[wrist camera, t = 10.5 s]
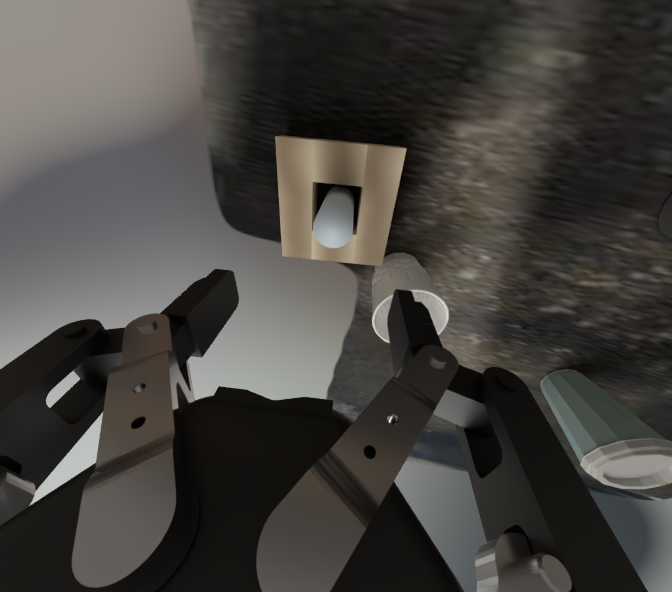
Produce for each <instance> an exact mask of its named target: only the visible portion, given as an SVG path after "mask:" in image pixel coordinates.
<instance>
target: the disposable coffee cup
mask: <svg viewBox="0 0 672 592" xmlns="http://www.w3.org/2000/svg"><path fill="white" fill-rule="evenodd" d="M540 386H541V390H542V392H543V394H544V396H545V398H546V400H547V401H548V403H549V405H550V407H551V409H552V411H553V412H554V414H555V416H556V418H557V420H558V422H559V424H560V425H561V427H562V429H563V431H564V433H565V435H566V437H567V438H568V440H569V442H570V444H571V446H572V448H573V449H574V451H575V453H576V455H577V457H578V459H579V461H580V462H581V465H580V466H582V467H583V468H584V470H585V471H586V472H587V473H588V474H590V475H591V476H593V477H594V478H596V479H598V480H599V481H600V482H601V483H603V484H605V485H609V486H613V487H617V488H622V489H648V488H653V487H658V486H663V485H666V484H669V483H672V441H669V440H665V439H664V438H663V437H661V436H660V435H659V434H657V433H656V432H655V431H654V430H652V429H651V428H650V427H649V426H647V425H646V424H645V423H644V422H642V421H641V420H640V419H638V418H637V417H636V416H635V415H633V414H632V413H631V412H630V411H628V410H627V409H626V408H625V407H623V406H622V405H621V404H620V403H618V402H617V401H616V400H614V399H613V398H612V397H611V396H609V395H608V394H607V393H606V392H604V391H603V390H602V389H601V388H599V387H598V386H597V385H595V384H594V383H593V382H592V381H590V380H589V379H588V378H587V377H585V376H584V375H583V374H582V373H580V372H577V371H576V370H571V369H562V370H556V371H554V372H552V373H549V374H547V375H546V376H545V377H544V378H543V379H542V380H541V385H540Z"/></svg>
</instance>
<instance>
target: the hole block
mask: <svg viewBox="0 0 672 592" xmlns="http://www.w3.org/2000/svg"><path fill="white" fill-rule="evenodd" d="M275 140H276V157H277V173H278V190H279V206H280V222H281V239H282V254H283V256H287V257H297V258H307V259H316V260H325V261H335V262H345V263H355V264H365V265H375V266H382V263H383V258H384V254H385V249H386V244H387V239H388V235H389V230H390V225H391V220H392V216H393V211H394V206H395V201H396V197H397V192H398V187H399V182H400V178H401V173H402V168H403V163H404V159H405V154H406V149H407V148H404V147H401V146H392V145H381V144H370V143H360V142H349V141H338V140H327V139H316V138H305V137H295V136H275ZM318 182H319V183H330V184H340V185H351V186H361V191H360V199H359V207H358V215H357V223H356V224H355V223H353V233H352V236H351V239H350V240H349V241H348V243H346V244H345V245H344V246H342V247H339V248H328V247H325V246H323V245H322V244H320V243H319V242H318V240H317V239H316V238H315V235H314V232H313V223H314V220H315V218H316V216H317V195H318Z"/></svg>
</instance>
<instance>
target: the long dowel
mask: <svg viewBox="0 0 672 592" xmlns="http://www.w3.org/2000/svg"><path fill="white" fill-rule="evenodd" d="M353 216H354V196H353V194H352V192H351V191H350V189H348V188H347V187H345V186H341V185H339V186H335V187H333V188H331V189H330V190H329V191H328V193H327V195H326V197H325V199H324V201H323V203H322V206H321V208H320V210H319V212H318V214H317V216H316V218H315V220H314V223H313V232H314V235H315V238H316V239H317V240H318V242H319V243H320V244H322V245H323V246H325V247H328V248H339V247H342V246H344V245H345V244H346V243H348V241H349V240H350V239H351V236H352V233H353Z"/></svg>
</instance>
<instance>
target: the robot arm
mask: <svg viewBox="0 0 672 592" xmlns="http://www.w3.org/2000/svg"><path fill="white" fill-rule="evenodd" d="M658 225H659V229H660V231H661V233H662V234H664V235H665V236H666V237H669V238H672V194H671V196H670V197H669V198H668V200H667V201H666V202H665V204H664V206H663V208H662V210H661V212H660V215H659V219H658ZM238 302H239V296H238V291H237V286H236V281H235V276H234V273H233V271H231V270H221V269H215V270H213V271H212V272H211V273H210V274H209V275H208V276H207V277H206V278H202V279H200V280H198V281H196V282H194V283H193V284H192V285H191V286H190V287H188V288H187V290H185V291H184V292H183V293H182V294H181V296H179V297H177V299H175V300H174V301H173V302H172V303H171V304H170V305H169V306H168V307H167V308H165V310H163V311H162V312H161V313H160V314H148V315H145V316H141V317H139V318H137V319H135V320H133V321H132V322H130V323H129V324H128V325H127V326H126V327H125V328H117V329H108V330H105V329H104V327H103V326H102V324H101V323H100V322H99V321H97V320H93V319H87V320H80V321H76V322H73V323H70V324H67V325H65V326H63V327H61V328H59V329H57V330H56V331H54V332H53V333H52V334H50V335H49V336H47V337H46V338H44V339H43V340H42V341H40V342H39V343H37V344H36V345H34V346H33V347H32V348H30V349H29V350H27V351H26V352H24V353H23V354H22V355H20V356H19V357H18V358H16V359H14V360H13V361H12V362H10V363H9V364H7V365H6V366H4V367H3V368H2V369H0V592H464V591H463V589H462V587H461V585H460V584H459V582H458V580H457V579H456V577H455V576H454V574H453V573H452V571H451V569H450V568H449V566H448V565H447V563H446V562H445V560H444V559H443V557H442V556H441V554H440V552H439V551H438V549H437V548H436V546H435V545H434V543H433V542H432V540H431V538H430V537H429V535H428V534H427V532H426V531H425V529H424V527H423V526H422V524H421V523H420V521H419V520H418V518H417V517H416V515H415V514H414V512H413V510H412V509H411V507H410V506H409V504H408V503H407V501H406V500H405V498H404V497H403V495H402V494H401V492H400V490H399V489H398V487H397V486H396V484H395V482H394V480H395V478H396V476H397V475H398V472H399V471H400V469H401V467H402V466H403V464H404V463H405V461H406V459H407V457H408V456H409V454H410V452H411V450H412V449H413V447H414V445H415V443H416V442H417V440H418V438H419V437H420V435H421V433H422V431H423V430H424V428H425V426H426V424H427V423H428V421H429V419H430V417H431V416H432V414H434V415H436V416H439V417H441V418H443V419H446V420H448V421H450V422H452V423H455V424H456V428H457V431H458V435H459V439H460V443H461V446H462V450H463V454H464V458H465V461H466V465H467V469H468V473H469V476H470V480H471V484H472V487H473V491H474V495H475V499H476V503H477V506H478V510H479V514H480V518H481V521H482V525H483V529H484V532H485V536H486V540H487V543H485V544H483V545H482V546H481V547H480V548H479V550H478V552H477V555H476V560H475V567H476V575H477V592H648V591H647V590H646V588H645V586H644V585H643V583H642V581H641V579H640V578H639V576H638V574H637V572H636V571H635V569H634V568H633V566H632V564H631V562H630V561H629V559H628V557H627V556H626V554H625V552H624V551H623V549H622V547H621V545H620V544H619V542H618V540H617V538H616V537H615V535H614V533H613V532H612V530H611V528H610V527H609V525H608V523H607V522H606V520H605V519H604V516H603V515H602V513H601V511H600V510H599V508H598V506H597V505H596V503H595V501H594V500H593V498H592V496H591V494H590V493H589V491H588V489H587V488H586V486H585V484H584V482H583V481H582V479H581V477H580V476H579V474H578V472H577V471H576V469H575V467H574V465H573V464H572V462H571V460H570V459H569V457H568V455H567V454H566V452H565V450H564V448H563V447H562V445H561V443H560V442H559V440H558V438H557V437H556V435H555V433H554V431H553V430H552V428H551V426H550V425H549V423H548V421H547V420H546V418H545V416H544V414H543V413H542V411H541V409H540V408H539V406H538V404H537V403H536V401H535V399H534V397H533V396H532V394H531V392H530V391H529V389H528V387H527V386H526V384H525V383H524V382H523V381H522V380H521V379H520V378H519V377H517V376H516V375H515V374H513V373H511V372H510V371H508V370H505V369H502V368H499V367H490V368H487V369H486V370H485V371H484V372H483V374H482V373H479V372H476V371H474V370H471V369H468V368H466V367H463V366H461V365H459V364H458V361H457V359H456V358H455V356H454V355H453V354H452V353H451V352H449V351H448V350H446V349H444V348H443V347H442V344H441V342H440V339H439V336H438V334H437V331H436V329H435V326H434V325H433V321H432V318H431V315H430V313H429V310H428V309H427V308H426V306H425V305H424V304H423V303H422V302H417V301H415V300H414V296H413V293H412V291H410V290H401V289H395V291H394V294H393V298H392V301H391V305H390V309H389V313H388V318H387V327H388V334H389V341H390V348H391V355H392V363H393V370H394V377H392V378H391V379H390V380H389V381H388V382H387V384H386V385H385V386H384V387H383V388H382V389H381V391H380V392H379V393H378V394H377V395H376V396H375V398H374V399H373V400H372V401H371V402H370V404H369V405H368V406H367V407H366V408H365V409H364V411H363V412H362V413H361V414H360V415H359V416H358V418H357V419H356V420H355V421H354V422H352V421H351V420H350V419H349V418H348V417H346V416H345V415H343V414H341V413H340V412H338V411H335V410H333V409H332V408H333V400H326V399H318V398H309V397H300V398H292V399H284V400H270V399H268V398H265V397H263V396H260V395H258V394H256V393H253V392H250V391H248V390H243V389H236V388H227V387H218V389H217V391H216V392H215V394H214V396H209V397H205V398H202V399H198V400H195V398H194V392H193V387H192V381H191V375H190V369H189V364H188V362H187V360H188V359H189V357H190V356H196V357H203V355H204V354H205V352H206V351H207V349H208V348H209V347H210V345H211V344H212V343H213V341H214V340H215V338H216V337H217V335H218V334H219V332H220V331H221V330H222V328H223V327H224V325H225V324H226V322H227V321H228V320H229V318H230V317H231V315H232V314H233V312H234V311H235V310H236V308H237V306H238ZM73 370H74V372H75V373H76V374H77V375H78V376H79V377H80V378H81V379H80V380H79V381H78V382H77V383H76V384H75V385H74V386H73V387H72V388H71V389H70V390H68V391H67V392H66V393H65V394H64V395H63V396H62V397H61V398H60V399H59V400H58V401H57V402H56V403H55V404H54V405H53V406H52V407H51V408H49V407H48V406H47V404H46V397H47V395H48V393H49V392H50V391H51V390H52V389H53V388H54V387H55V386H56V385H57V384H58V383H59V382H61V381H62V379H64V378H65V377H66V376H67V375H68V374H69V373H70V372H72V371H73ZM102 412H103V418H102V425H101V432H100V439H99V446H98V453H97V460H96V463H95V464H93V465H92V466H90V467H89V468H87V469H86V470H84V471H83V472H81V473H79V474H78V475H76V476H75V477H73V478H72V479H70V480H69V481H67V482H66V483H64V484H63V485H61V486H60V487H58V488H57V489H55V490H54V491H52V492H50V493H49V494H47V495H46V496H45V497H43V498H41V499H40V500H38V501H37V502H35V503H34V504H32V505H30V503H31V502H32V500H33V497H34V494H35V491H36V490H37V489H38V488H39V486H40V485H41V484H42V483H43V482H44V481H45V479H46V478H47V477H48V476H49V475H50V473H51V472H52V471H53V470H54V469H55V468H56V466H57V465H58V464H59V463H60V462H61V461H62V459H63V458H64V457H65V456H66V455H67V453H68V452H69V451H70V450H71V449H72V448H73V446H74V445H75V444H76V443H77V442H78V440H79V439H80V438H81V437H82V435H84V433H85V432H86V431H87V430H88V429H89V428H90V426H91V425H92V424H93V423H94V422H95V420H96V419H97V418H98V417H99V416H100V415H101V413H102ZM29 505H30V506H29Z"/></svg>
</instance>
